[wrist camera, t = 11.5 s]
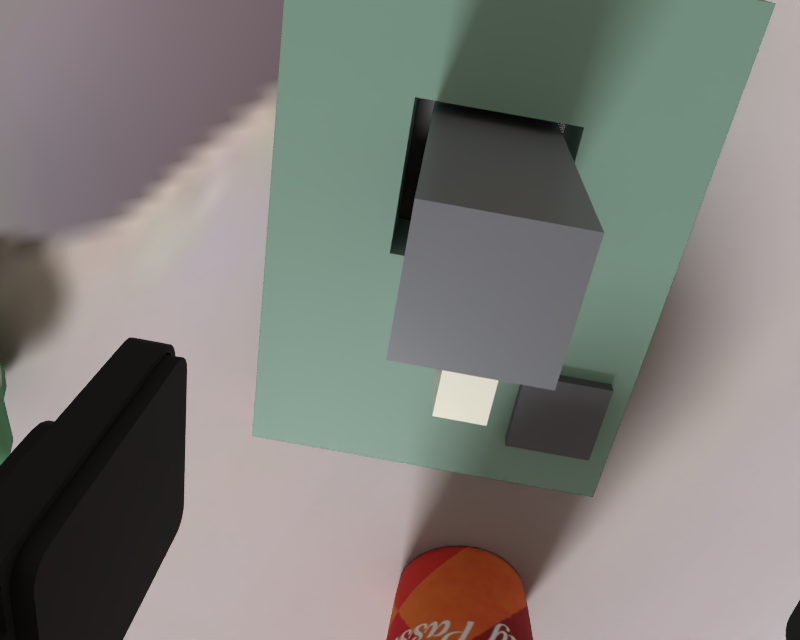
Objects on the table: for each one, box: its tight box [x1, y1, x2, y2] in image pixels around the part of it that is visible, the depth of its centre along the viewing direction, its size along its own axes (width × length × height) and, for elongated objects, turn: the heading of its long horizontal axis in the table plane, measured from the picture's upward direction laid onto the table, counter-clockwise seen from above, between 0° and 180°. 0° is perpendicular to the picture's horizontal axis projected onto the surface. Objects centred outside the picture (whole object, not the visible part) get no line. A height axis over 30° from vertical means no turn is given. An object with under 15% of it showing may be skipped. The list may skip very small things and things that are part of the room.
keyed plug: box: [386, 101, 604, 426], centre depth 19 cm, size 4×5×10 cm
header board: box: [252, 0, 776, 497], centre depth 23 cm, size 12×16×3 cm
